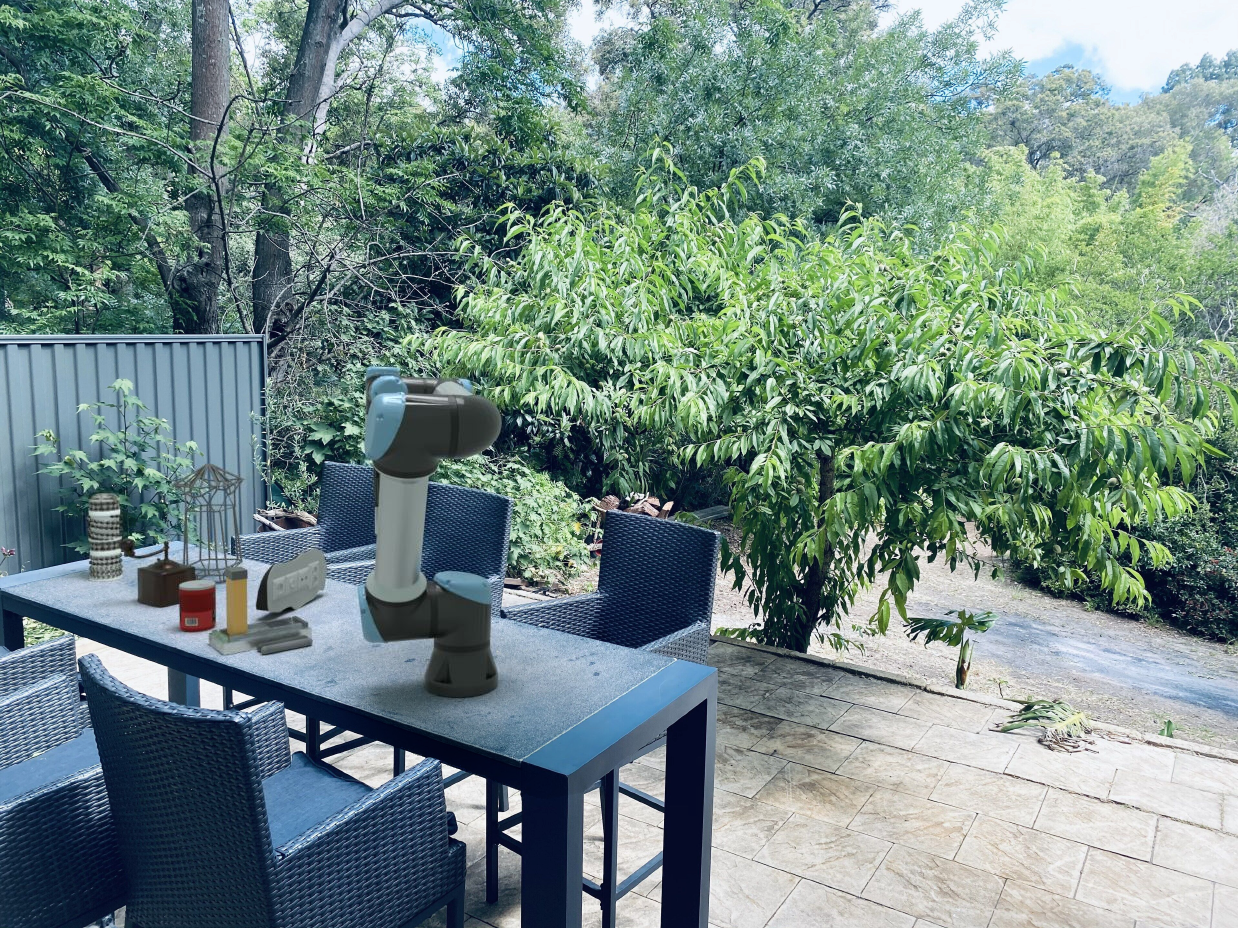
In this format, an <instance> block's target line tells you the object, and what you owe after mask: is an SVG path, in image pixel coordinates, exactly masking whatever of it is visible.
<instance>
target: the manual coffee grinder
mask: <svg viewBox="0 0 1238 928" xmlns="http://www.w3.org/2000/svg"><path fill="white" fill-rule="evenodd" d="M169 543H170V542H169V541H168V540H164V541H163V548H161V549H159V550H156V551H153V552H150V553H146V554H142V555H136V551H135V550H134V547H135V545H136V541H135V540H134V539H133V538H122V539H120V542H119V543H118V547H119V548H120V549H121V552H123V557H125V558H131V559H135V560H138V559H139V560H141V559H145V558H150V557H153V556H156V555H159V554H161V553H164V558H163V559H161V558H159V557H157V558H156V561H155V562H154V563H151V564H149V565H147V566H143V567H137V569H136V573H137V599H136V602H138V603H140V604H142V605H147V606H149V607H153V608H159V609H163V608H169V607H173V606H177V605H179V585H180V584H182V583H184V582H188V581H195V580H196V578H195V574H196V570H195V568H196V567H195V566H194V565H192V566H189V564H188V565H186V563H185V564H183V563H180V562H177V561H175V560H173V559H170V558H169V549H170V545H169Z"/></svg>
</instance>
